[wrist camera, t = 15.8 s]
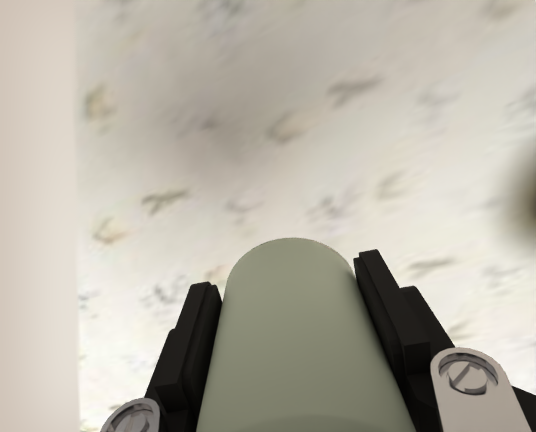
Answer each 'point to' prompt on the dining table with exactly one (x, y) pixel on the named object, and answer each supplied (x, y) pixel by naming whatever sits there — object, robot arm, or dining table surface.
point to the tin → (298, 349)
